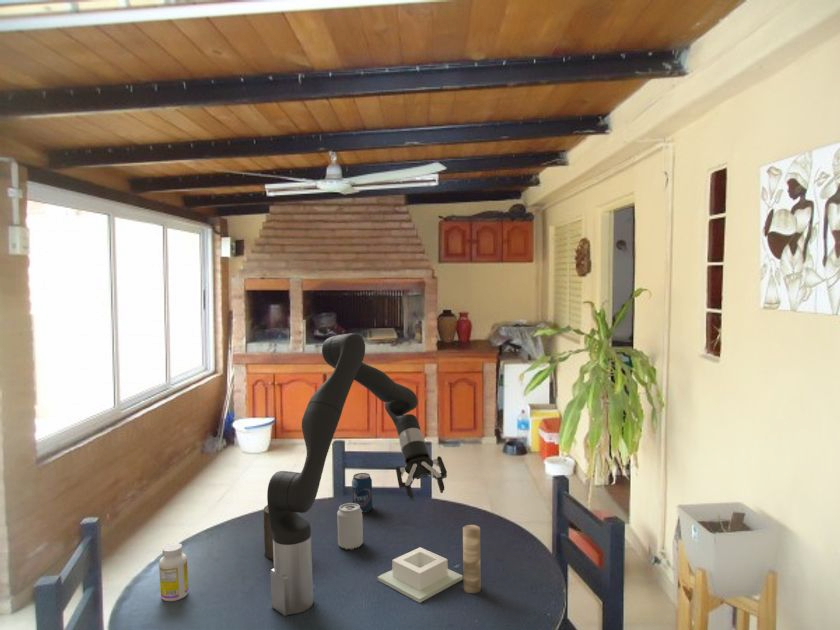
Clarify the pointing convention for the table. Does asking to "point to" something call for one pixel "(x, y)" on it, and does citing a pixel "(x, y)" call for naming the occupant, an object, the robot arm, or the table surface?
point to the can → (350, 526)
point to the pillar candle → (268, 535)
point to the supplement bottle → (173, 573)
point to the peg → (471, 559)
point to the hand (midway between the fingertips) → (427, 495)
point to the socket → (420, 574)
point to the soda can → (362, 491)
